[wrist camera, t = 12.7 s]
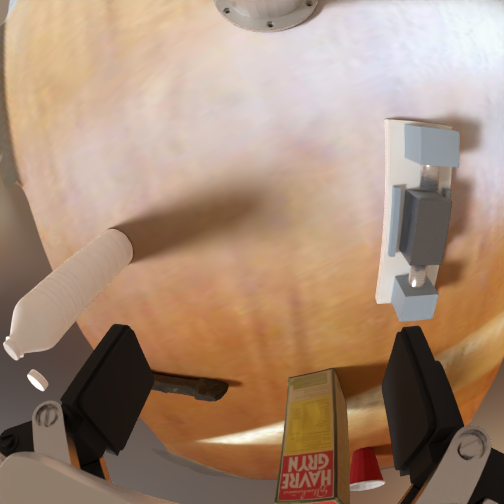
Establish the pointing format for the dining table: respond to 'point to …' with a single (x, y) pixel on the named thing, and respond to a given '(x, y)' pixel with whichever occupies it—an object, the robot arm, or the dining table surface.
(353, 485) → the plastic cup
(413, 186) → the shaft stand
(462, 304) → the dining table surface
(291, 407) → the food packaging
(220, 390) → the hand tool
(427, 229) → the block
